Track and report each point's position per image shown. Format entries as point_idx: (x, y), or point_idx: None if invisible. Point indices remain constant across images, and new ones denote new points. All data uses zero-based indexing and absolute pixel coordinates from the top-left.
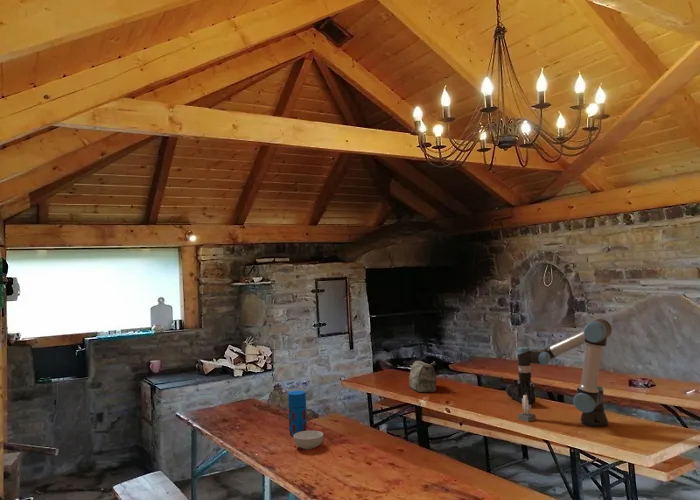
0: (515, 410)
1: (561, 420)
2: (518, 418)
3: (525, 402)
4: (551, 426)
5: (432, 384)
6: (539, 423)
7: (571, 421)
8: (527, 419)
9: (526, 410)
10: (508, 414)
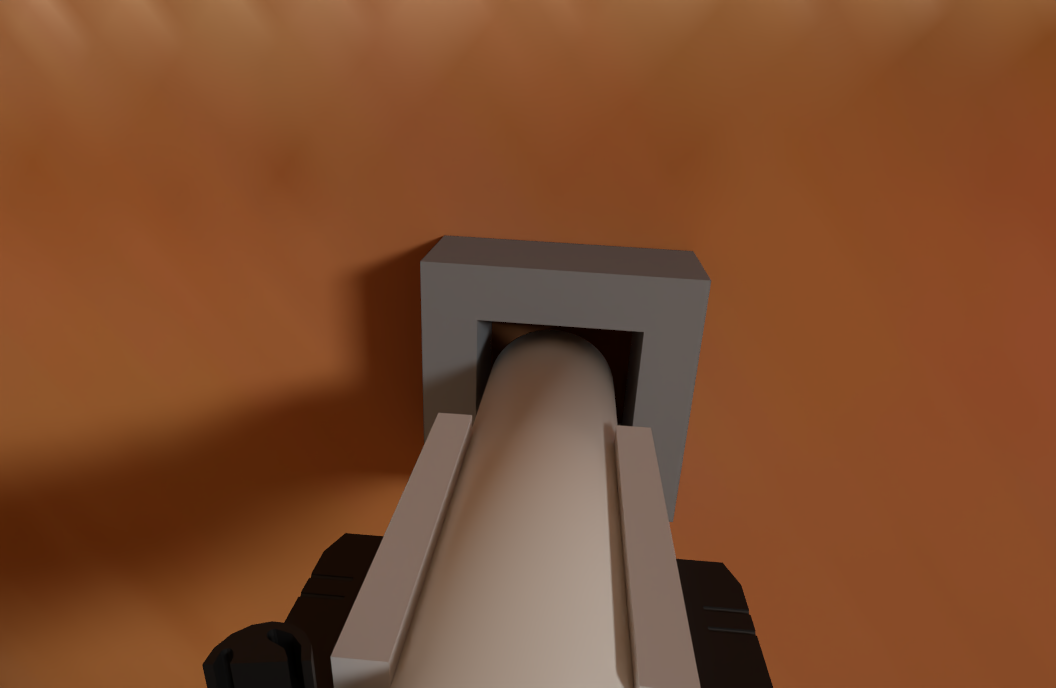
0: (1025, 655)
1: (180, 634)
2: (693, 253)
3: (484, 541)
4: (9, 291)
5: None
6: (245, 296)
7: (80, 669)
8: (448, 246)
9: (502, 398)
10: (1037, 382)
